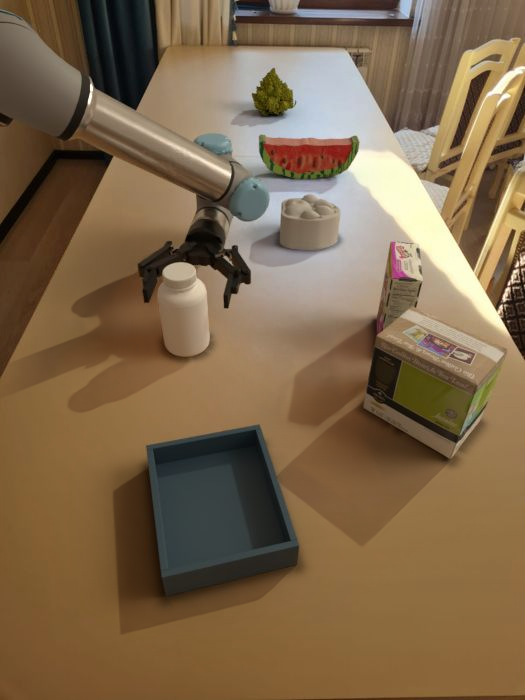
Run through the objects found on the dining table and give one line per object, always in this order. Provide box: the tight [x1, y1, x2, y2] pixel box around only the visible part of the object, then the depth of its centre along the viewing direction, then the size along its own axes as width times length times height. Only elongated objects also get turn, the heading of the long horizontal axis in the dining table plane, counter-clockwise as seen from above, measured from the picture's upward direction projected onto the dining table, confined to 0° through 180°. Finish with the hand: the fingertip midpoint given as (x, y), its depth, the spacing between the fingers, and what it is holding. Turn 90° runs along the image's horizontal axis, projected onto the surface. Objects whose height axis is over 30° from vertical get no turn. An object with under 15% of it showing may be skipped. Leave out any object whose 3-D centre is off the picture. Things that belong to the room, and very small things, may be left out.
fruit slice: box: [258, 134, 360, 180], centre depth 145 cm, size 26×6×10 cm, turn 91°
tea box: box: [363, 306, 509, 460], centre depth 78 cm, size 15×10×15 cm, turn 48°
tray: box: [145, 423, 300, 597], centre depth 68 cm, size 19×16×4 cm
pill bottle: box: [156, 262, 211, 358], centre depth 89 cm, size 8×8×15 cm
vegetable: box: [251, 67, 297, 117], centre depth 184 cm, size 15×16×15 cm
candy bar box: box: [376, 241, 424, 336], centre depth 91 cm, size 11×5×16 cm, turn 171°
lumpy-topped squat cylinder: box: [279, 193, 342, 251], centre depth 119 cm, size 10×13×9 cm
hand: (185, 299), depth 90 cm, fingers open, 13 cm apart
